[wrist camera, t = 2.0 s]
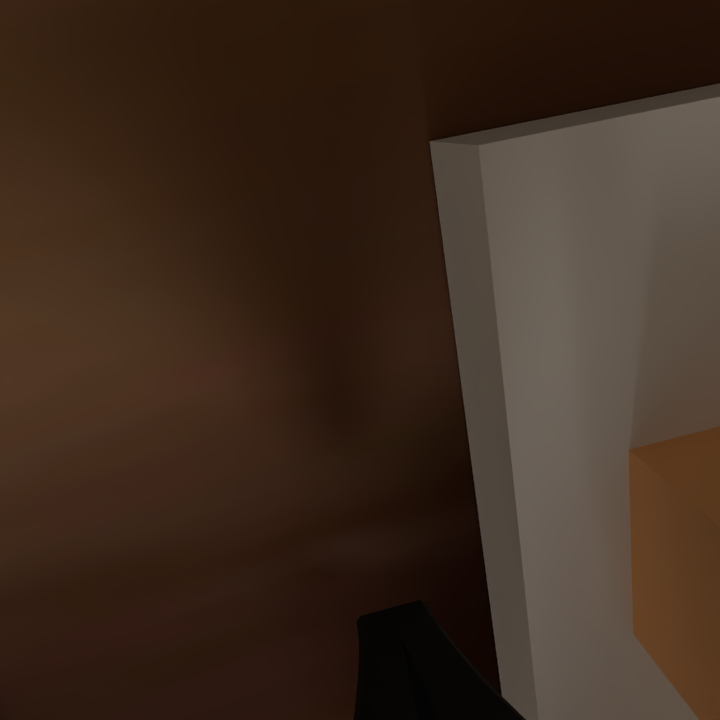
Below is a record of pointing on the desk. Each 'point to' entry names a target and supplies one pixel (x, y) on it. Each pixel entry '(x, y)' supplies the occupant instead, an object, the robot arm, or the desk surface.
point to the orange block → (679, 562)
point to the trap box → (580, 372)
